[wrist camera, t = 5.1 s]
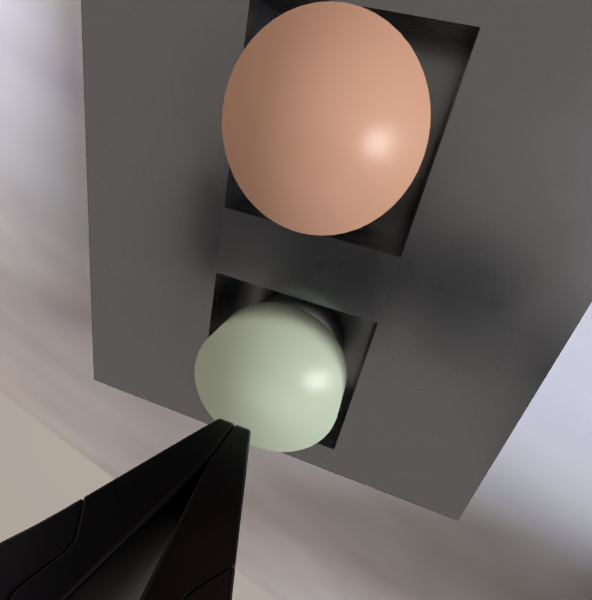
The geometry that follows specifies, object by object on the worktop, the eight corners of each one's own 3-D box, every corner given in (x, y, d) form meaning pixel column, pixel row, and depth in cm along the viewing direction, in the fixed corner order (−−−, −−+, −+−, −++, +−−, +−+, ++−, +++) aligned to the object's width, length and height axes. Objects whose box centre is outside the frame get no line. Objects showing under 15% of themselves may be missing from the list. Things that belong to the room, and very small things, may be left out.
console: (941, -467, 6) (1342, -923, 4) (450, 453, 15) (457, 520, 13) (169, -448, 8) (56, -717, 6) (142, 342, 18) (94, 379, 15)
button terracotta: (451, 57, 10) (468, 24, 7) (395, 228, 11) (389, 258, 9) (285, 25, 10) (235, -17, 7) (258, 191, 12) (211, 207, 9)
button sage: (370, 304, 13) (358, 353, 10) (337, 406, 14) (318, 472, 12) (247, 266, 13) (201, 301, 10) (230, 368, 15) (188, 421, 12)
